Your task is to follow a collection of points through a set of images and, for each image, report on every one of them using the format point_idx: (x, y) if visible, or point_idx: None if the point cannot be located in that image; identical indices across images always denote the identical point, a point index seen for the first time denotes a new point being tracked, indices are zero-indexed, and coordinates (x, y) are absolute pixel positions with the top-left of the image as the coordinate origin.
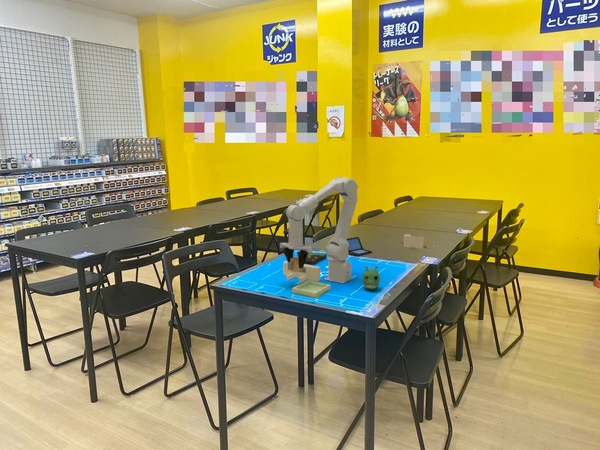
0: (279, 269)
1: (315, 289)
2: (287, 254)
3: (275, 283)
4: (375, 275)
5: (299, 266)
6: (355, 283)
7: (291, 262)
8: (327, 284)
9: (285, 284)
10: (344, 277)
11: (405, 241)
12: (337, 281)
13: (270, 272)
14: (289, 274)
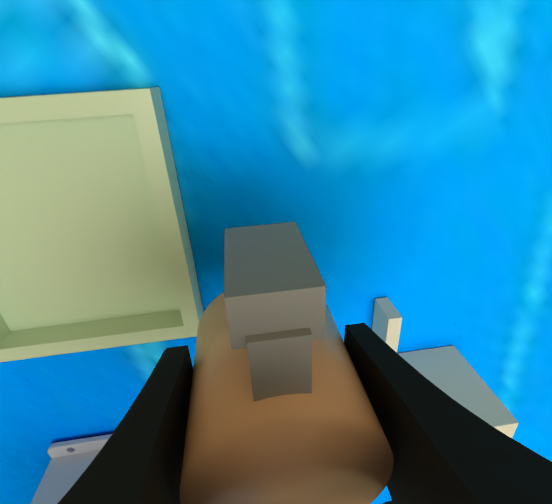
0: (514, 389)
1: (52, 260)
2: (481, 498)
3: (424, 196)
4: None
5: (174, 363)
6: (9, 477)
7: (256, 329)
8: (9, 357)
9: (345, 225)
10: (38, 489)
11: None
12: (89, 441)
13: (546, 331)
14: (396, 342)
